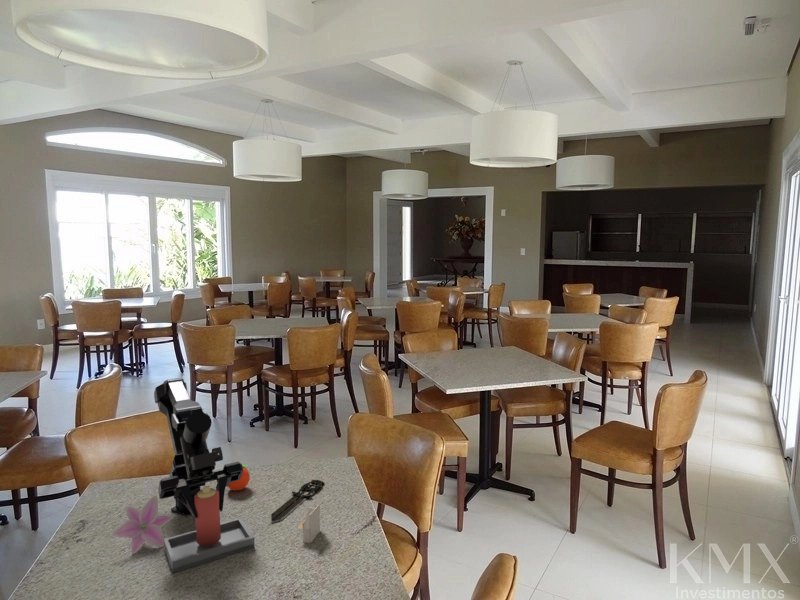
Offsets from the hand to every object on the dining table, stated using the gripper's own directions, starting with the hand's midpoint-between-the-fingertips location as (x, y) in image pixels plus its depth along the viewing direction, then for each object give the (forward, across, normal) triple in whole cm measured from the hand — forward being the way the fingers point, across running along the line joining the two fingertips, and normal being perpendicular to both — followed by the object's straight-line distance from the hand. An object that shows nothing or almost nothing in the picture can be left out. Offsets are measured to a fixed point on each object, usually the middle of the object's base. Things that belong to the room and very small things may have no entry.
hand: (208, 514), depth 126 cm
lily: (-2, -12, +15) cm, 20 cm away
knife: (-1, +26, +15) cm, 30 cm away
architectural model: (+12, +22, +2) cm, 25 cm away
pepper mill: (+4, 0, +6) cm, 7 cm away
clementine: (-13, +15, +27) cm, 33 cm away
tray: (+6, 0, +7) cm, 9 cm away
